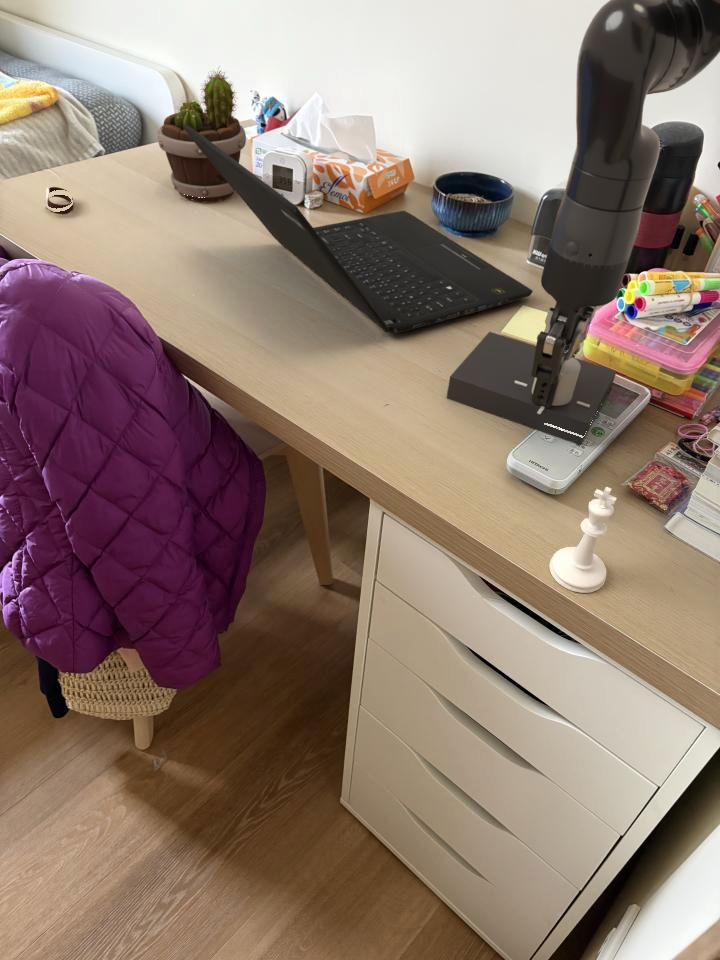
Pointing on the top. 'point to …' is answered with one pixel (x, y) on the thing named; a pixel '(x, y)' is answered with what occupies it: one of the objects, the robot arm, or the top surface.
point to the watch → (57, 204)
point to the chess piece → (585, 550)
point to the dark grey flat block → (526, 388)
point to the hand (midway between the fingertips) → (549, 391)
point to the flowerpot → (215, 125)
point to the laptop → (376, 257)
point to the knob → (566, 382)
